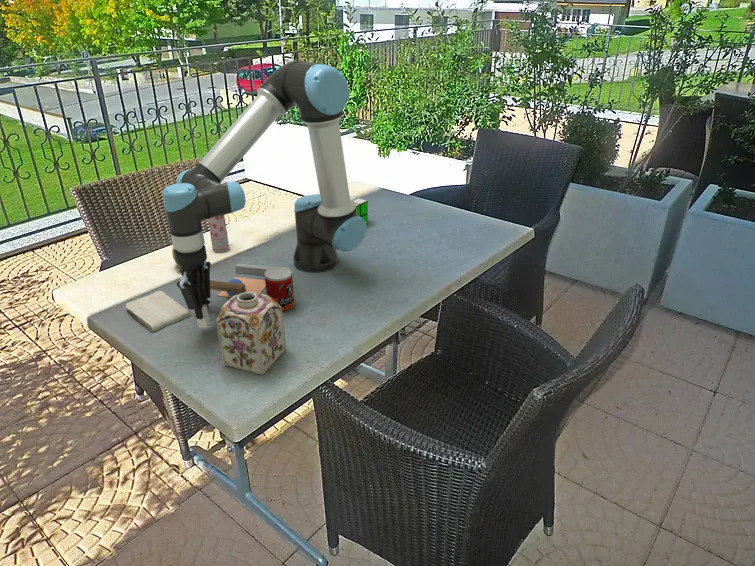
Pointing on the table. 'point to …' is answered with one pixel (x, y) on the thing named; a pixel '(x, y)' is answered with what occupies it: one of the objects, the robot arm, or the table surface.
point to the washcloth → (157, 310)
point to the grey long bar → (251, 269)
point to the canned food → (280, 286)
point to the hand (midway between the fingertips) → (204, 326)
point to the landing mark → (248, 286)
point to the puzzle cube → (361, 208)
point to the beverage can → (218, 234)
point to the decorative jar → (251, 332)
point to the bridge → (227, 287)
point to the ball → (234, 282)
